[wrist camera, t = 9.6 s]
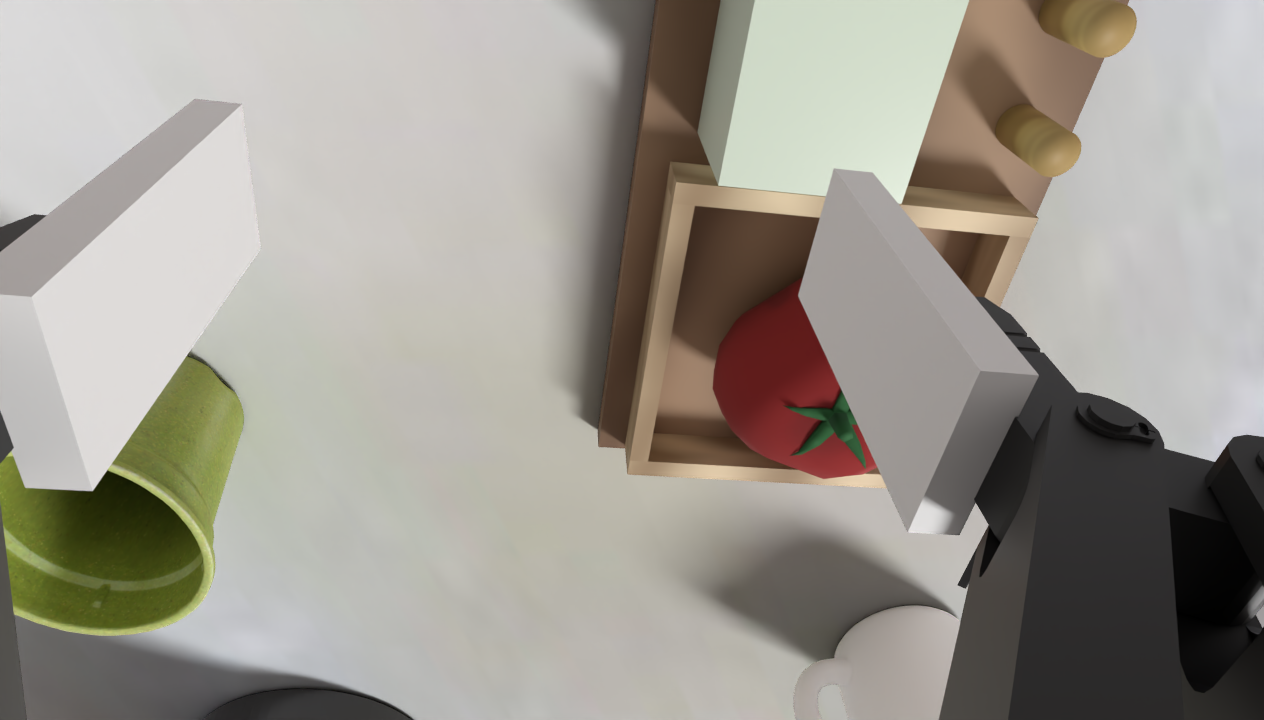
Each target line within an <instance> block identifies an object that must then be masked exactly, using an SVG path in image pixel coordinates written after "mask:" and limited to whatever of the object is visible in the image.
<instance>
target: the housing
mask: <svg viewBox="0 0 1264 720" xmlns="http://www.w3.org/2000/svg"><path fill="white" fill-rule="evenodd" d="M968 3H969V0H721V1H720V7H719V12H718V18H717V24H716V30H715V35H714V41H713V47H712V52H711V58H710V64H709V69H708V75H707V81H706V86H705V92H704V98H703V103H702V109H701V115H700V121H699V126H698V132H697V133H698V135H699V138H700V140H701V143H702V145H703V148H704V151H705V153H706V156H707V158H708V161H709V163H710V166H711V168H712V171H713V173H714V176H715V179H716V181H717V184H718V186H727V187H737V188H747V189H757V190H767V191H777V192H787V193H797V194H807V195H818V196H826V194H827V191H828V187H829V184H830V180H831V177H832V173H833V169H834V168H836V169H845V170H854V171H863V172H873V174H874V175H875V176H876V177H877V178H878V180H879V181H880V182H881V183H882V184H883V186H884V187H885V188H886V189H887V191H888V192H889V193H890V194H891V195H892V197H893V198H894V199H895V200H896V202H897V203H898V204H902V201H903V198H904V195H905V192H906V189H907V186H908V183H909V180H910V177H911V174H912V171H913V168H914V165H915V162H916V159H917V156H918V153H919V150H920V147H921V144H922V141H923V138H924V135H925V132H926V129H927V126H928V123H929V120H930V117H931V114H932V111H933V108H934V105H935V102H936V99H937V96H938V93H939V90H940V87H941V84H942V81H943V78H944V75H945V72H946V69H947V66H948V63H949V60H950V57H951V54H952V51H953V48H954V45H955V42H956V39H957V36H958V33H959V30H960V27H961V24H962V21H963V18H964V15H965V12H966V9H967V6H968Z"/></svg>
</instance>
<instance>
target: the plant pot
mask: <svg viewBox="0 0 1264 720" xmlns="http://www.w3.org/2000/svg"><path fill="white" fill-rule="evenodd" d="M243 423H244V415H243V409H242V406H241V403H240V401H239V399H238V396H237V395H236V393H235V392H234V391H232V390H230V389H229V388H228V387H227V386H226V385H224V384H223V383H222V382H221V381H220V380H219V378H218V377H217V376H216V375H215V373H214V372H213V371H212V370H211V369H210V368H209V367H208V366H206V365H205V364H203V363H201V362H199V361H197V360H195V359H193V358H190V357H188V356H186V358H185V359H184V360H183V362H182V363H181V365H180V366H179V368H178V369H177V370H176V372H175V373H174V375H173V376H172V378H171V379H170V381H169V382H168V383H167V385H166V386H165V388H164V389H163V391H162V392H161V394H160V395H159V396H158V398H157V399H156V401H155V402H154V404H153V405H152V406H151V408H150V409H149V411H148V412H147V414H146V415H145V417H144V418H143V419H142V421H141V422H140V424H139V425H138V427H137V428H136V430H135V431H134V432H133V434H132V435H131V437H130V438H129V440H128V441H127V442H126V444H125V445H124V447H123V448H122V450H121V451H120V453H119V454H118V455H117V457H116V458H115V460H114V461H113V463H112V464H111V465H110V467H109V468H108V470H107V471H106V473H105V474H104V476H103V477H102V478H101V480H100V481H99V483H98V484H97V486H96V487H95V489H94V490H93V491H78V490H59V489H39V488H25V486H24V483H23V481H22V478H21V475H20V473H19V470H18V467H17V465H16V462H15V459H14V457H13V454H12V451H11V452H10V453H9V454H8V455H7V456H6V458H5V459H4V460H3V461H2V462H1V463H0V503H1V512H2V520H3V528H4V536H5V545H6V553H7V561H8V570H9V578H10V586H11V594H12V603H13V611H14V614H15V615H17V616H19V617H22V618H25V619H27V620H30V621H32V622H35V623H38V624H42V625H46V626H49V627H52V628H56V629H59V630H63V631H68V632H74V633H81V634H89V635H99V636H116V635H130V634H137V633H143V632H149V631H152V630H155V629H159V628H162V627H165V626H168V625H170V624H173V623H175V622H177V621H179V620H181V619H182V618H184V617H185V616H187V615H188V614H190V613H191V612H192V611H194V610H195V609H196V608H197V607H198V606H199V605H200V604H201V602H202V601H203V600H204V598H205V597H206V595H207V593H208V591H209V589H210V586H211V584H212V581H213V578H214V573H215V555H214V550H213V547H212V546H213V538H214V533H213V523H214V520H215V516H216V513H217V509H218V506H219V503H220V499H221V496H222V493H223V490H224V486H225V483H226V480H227V477H228V473H229V470H230V467H231V463H232V460H233V457H234V454H235V451H236V448H237V444H238V441H239V438H240V435H241V432H242V429H243Z"/></svg>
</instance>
